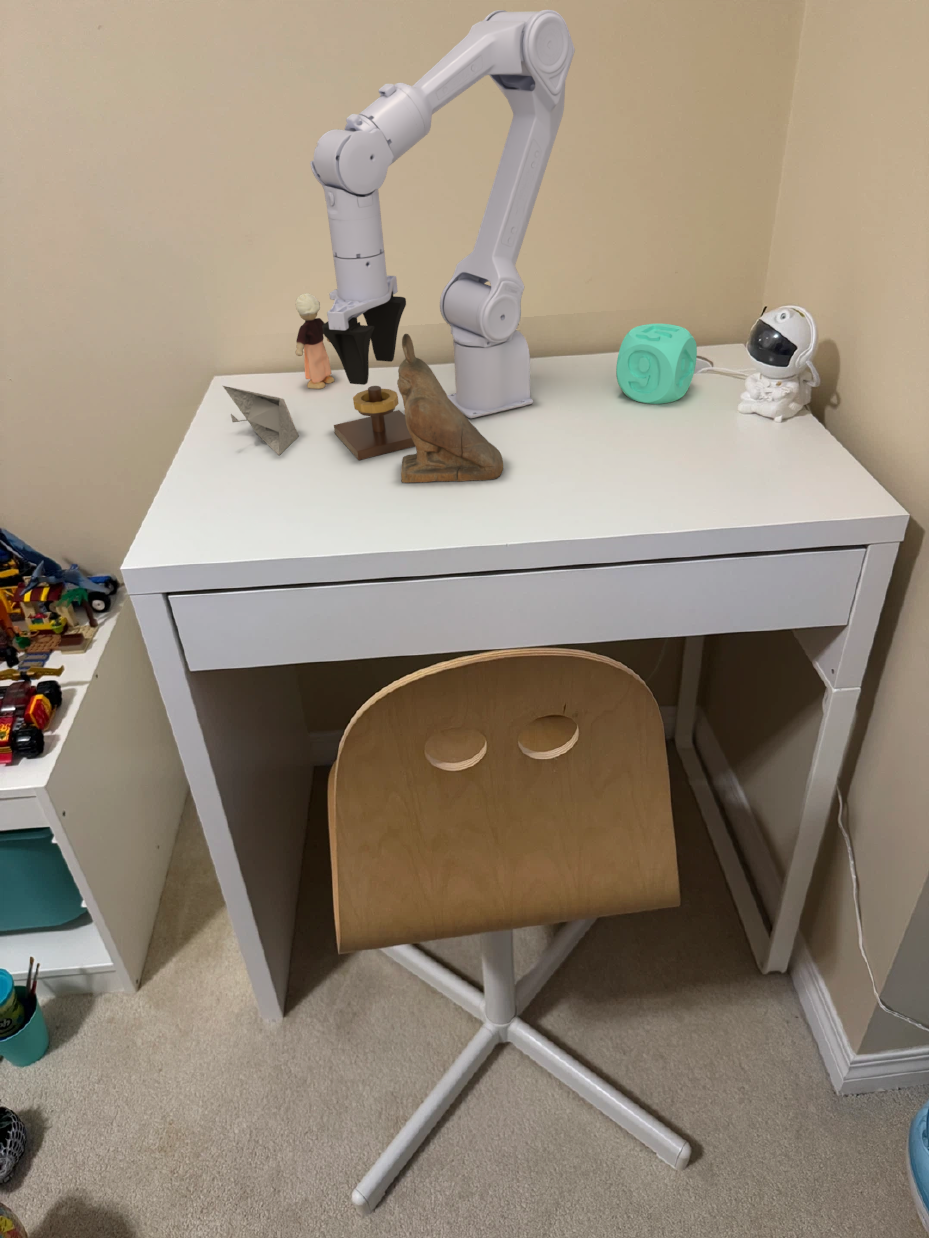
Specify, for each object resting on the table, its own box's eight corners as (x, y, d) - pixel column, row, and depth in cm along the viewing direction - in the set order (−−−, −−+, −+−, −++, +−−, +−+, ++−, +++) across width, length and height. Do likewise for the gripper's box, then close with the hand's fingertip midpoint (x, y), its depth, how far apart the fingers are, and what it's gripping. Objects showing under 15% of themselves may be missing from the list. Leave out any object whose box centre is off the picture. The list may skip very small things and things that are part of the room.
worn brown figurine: (405, 502, 104) (353, 355, 94) (410, 479, 108) (361, 336, 98) (504, 481, 102) (462, 328, 91) (505, 459, 106) (465, 310, 96)
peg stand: (399, 418, 118) (395, 369, 114) (427, 443, 111) (422, 392, 107) (334, 433, 115) (327, 384, 111) (358, 460, 108) (351, 408, 104)
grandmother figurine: (319, 373, 132) (306, 285, 125) (342, 375, 131) (330, 286, 124) (294, 393, 127) (278, 302, 119) (318, 395, 125) (304, 303, 118)
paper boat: (326, 429, 113) (273, 437, 106) (304, 465, 117) (251, 475, 110) (268, 363, 115) (213, 367, 108) (249, 400, 119) (194, 407, 112)
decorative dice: (694, 387, 121) (700, 327, 116) (671, 408, 116) (676, 347, 111) (638, 378, 125) (642, 320, 120) (614, 398, 119) (617, 338, 115)
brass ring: (389, 392, 113) (388, 384, 112) (405, 407, 109) (404, 399, 108) (347, 401, 111) (346, 394, 111) (362, 417, 107) (361, 409, 107)
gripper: (354, 235, 106) (367, 348, 114) (295, 268, 95) (314, 391, 103) (409, 237, 104) (418, 352, 112) (355, 271, 93) (370, 396, 101)
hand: (372, 371), depth 108 cm, fingers open, 7 cm apart
